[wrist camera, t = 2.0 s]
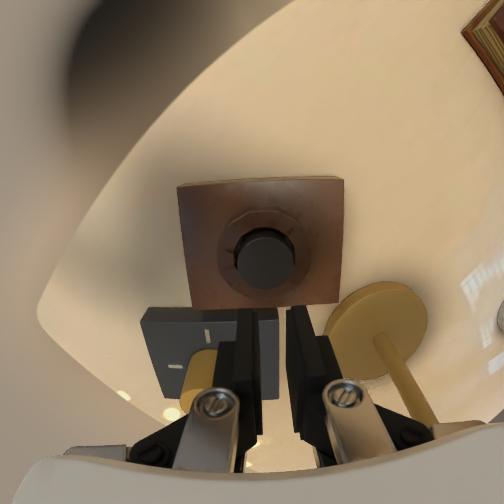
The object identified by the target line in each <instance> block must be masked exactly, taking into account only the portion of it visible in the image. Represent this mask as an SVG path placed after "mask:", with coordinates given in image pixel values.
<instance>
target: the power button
mask: <svg viewBox="0 0 504 504" xmlns="http://www.w3.org/2000/svg"><path fill="white" fill-rule="evenodd" d="M293 265H294V262H293V256H292V253H291V250H290V248H289V245H288V243H287V242H286V240H285V239H284V238H283V237H282V236H281V235H279V234H277V233H275V232H272V231H267V230H263V231H257V232H254V233H252V234H250V235H249V236H248V237H246V238H245V239H244V241H243V242H242V244H241V246H240V248H239V253H238V260H237V268H238V272H239V274H240V276H241V278H242V279H243V280H244V282H246V283H247V284H248V285H249V286H251V287H253V288H256V289H260V290H270V289H274V288H277V287H279V286H281V285H282V284H283V283H285V282H286V281H287V280H288V278H289V277H290V275H291V273H292V270H293Z"/></svg>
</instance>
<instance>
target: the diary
mask: <svg viewBox="0 0 504 504" xmlns="http://www.w3.org/2000/svg"><path fill="white" fill-rule="evenodd" d="M461 33H462V34H463V35H464V36H465V37H466V39H467V40H468V41H469V43H470V44H471V45H472V47H473V48H474V49H475V51H476V52H477V53H478V55H479V56H480V57H481V59H482V60H483V62H484V63H485V65H486V66H487V68H488V69H489V71H490V72H491V74H492V75H493V77H494V78H495V80H496V82H497V83H498V85H499V87H500V88H501V90H502V92H503V93H504V0H490V2H489V3H488V4H487V5H486V6H485V7H484V8H483V9H482V10H481V11H480V12H479V13H478V14H477V16H476V17H475V18H474V19H473V20H472V21H471V22H470V23H469V24H468V25H467V26H466V27H465V29H464V30H463V31H462V32H461Z"/></svg>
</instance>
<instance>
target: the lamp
mask: <svg viewBox="0 0 504 504" xmlns="http://www.w3.org/2000/svg"><path fill="white" fill-rule="evenodd" d="M426 327H427V313H426V308H425V306H424V304H423V302H422V301H421V299H420V298H419V297H418V296H417V295H416V294H415V293H414V292H413V291H412V290H411V289H409V288H408V287H407V286H405V285H402V284H399V283H395V282H380V283H375V284H371V285H368V286H366V287H363V288H361V289H359V290H358V291H356V292H354V293H353V294H351V295H350V296H349V297H347V298H346V299H345V300H344V301H343V302H342V303H341V304H340V305H339V306H338V307H337V308H336V309H335V311H334V312H333V314H332V315H331V317H330V318H329V320H328V323H327V325H326V328H325V331H324V335H327V336H328V337H329V339H330V342H331V345H332V348H333V350H334V353H335V356H336V359H337V361H338V364H339V367H340V370H341V373H342V376H344V377H346V378H350V379H356V380H366V379H372V378H377V377H380V376H383V375H385V374H387V373H389V374H390V376H391V378H392V380H393V382H394V384H395V385H396V387H397V389H398V391H399V393H400V395H401V397H402V399H403V401H404V403H405V405H406V407H407V409H408V411H409V414H410V416H411V418H412V419H413V420H416V421H419V422H421V423H422V424H424V425H425V426H426V427H430V426H431V424H438V423H439V422H438V420H437V418H436V417H435V415H434V413H433V411H432V409H431V407H430V406H429V404H428V402H427V400H426V399H425V397H424V395H423V393H422V392H421V390H420V388H419V386H418V385H417V383H416V381H415V380H414V378H413V376H412V374H411V373H410V371H409V369H408V368H407V366H406V364H405V363H404V362H405V361H407V360H408V359H409V358H410V357H411V356H412V354H413V353H414V352H415V351H416V349H417V348H418V346H419V345H420V343H421V341H422V339H423V337H424V334H425V331H426Z"/></svg>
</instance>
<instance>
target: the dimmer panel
mask: <svg viewBox="0 0 504 504" xmlns="http://www.w3.org/2000/svg"><path fill="white" fill-rule="evenodd" d="M252 309H253V311H258V321H259V340H260V360H261V390H262V400H273V399H279V317H278V309H277V307H268V308H252ZM237 319H238V309H215V310H193V308H148V309H147V311H146V312H145V314H144V316H143V317H142V319H141V321H140V324H141V328H142V331H143V335H144V338H145V341H146V345H147V348H148V351H149V354H150V358H151V361H152V364H153V367H154V370H155V373H156V376H157V378H158V381H159V384H160V387H161V390H162V392H163V395H164V398H170V399H180V396H181V392H182V388H183V385H184V381H185V377H186V373H187V370H188V366H189V362H190V359H191V358H192V356H193V355H194V354H195V353H197V352H199V351H201V350H205V349H215V350H218V345H219V342H220V341H236V330H237Z"/></svg>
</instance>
